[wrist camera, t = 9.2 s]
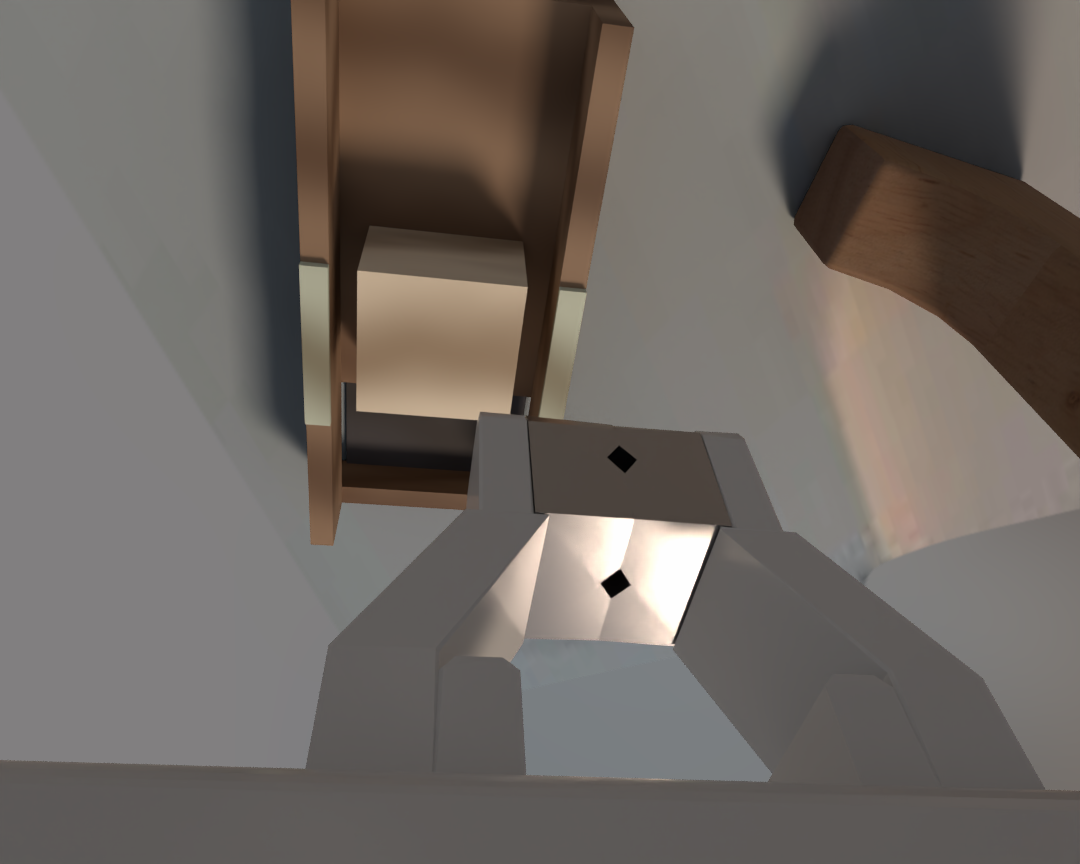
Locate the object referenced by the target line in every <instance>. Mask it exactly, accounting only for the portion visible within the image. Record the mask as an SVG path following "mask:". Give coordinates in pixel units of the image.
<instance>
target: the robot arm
mask: <svg viewBox="0 0 1080 864" xmlns="http://www.w3.org/2000/svg"><path fill="white" fill-rule="evenodd" d="M524 638H526V639H569V640H601V641H614V642H627V643H640V644H653V645H666V646H674V648H673V650H674V652H675V653H676V654H677V655H678V657H679V658H680V659H681V660H682V662H683V663H684V664H685V665H686V666H687V668H688V669H689V670H690V672H691V673H692V674H693V675H694V676H695V678H696V679H697V680H698V682H699V683H700V684H701V685H702V686H703V688H704V689H705V690H706V691H707V693H708V694H709V695H710V696H711V698H712V699H713V700H714V701H715V703H716V704H717V705H718V706H719V708H720V709H721V710H722V711H723V713H724V714H725V715H726V716H727V718H728V719H729V720H730V721H731V723H732V724H733V725H734V726H735V728H736V729H737V730H738V731H739V733H740V734H741V735H742V736H743V738H744V739H745V740H746V741H747V743H748V744H749V745H750V746H751V748H752V749H753V750H754V751H755V753H756V754H757V755H758V756H759V758H760V759H761V760H762V761H763V762H764V764H765V765H766V766H767V768H768V769H769V770H770V771H771V773H772V776H771V777H770V779H769V781H768V782H748V781H714V780H713V781H712V780H677V779H676V780H675V779H644V778H609V777H574V776H540V775H526V764H525V749H524V748H525V747H524V729H523V712H522V693H521V676H520V670H519V669H517V668H516V667H515V666H513V665H512V664H511V663H510V662H511V660H512V659H513V657H514V656H515V654H516V653H517V651H518V650H519V648H520V647H521V645H522V644H523V640H524ZM0 864H1080V791H1070V790H1067V791H1066V790H1045V788H1044V786H1043V784H1042V782H1041V781H1040V779H1039V777H1038V775H1037V774H1036V772H1035V770H1034V768H1033V767H1032V765H1031V763H1030V761H1029V759H1028V758H1027V756H1026V754H1025V752H1024V751H1023V749H1022V747H1021V745H1020V743H1019V742H1018V740H1017V739H1016V736H1015V735H1014V733H1013V731H1012V729H1011V728H1010V726H1009V724H1008V722H1007V720H1006V719H1005V717H1004V715H1003V713H1002V712H1001V710H1000V708H999V706H998V704H997V703H996V701H995V699H994V697H993V696H992V694H991V692H990V690H989V689H988V687H987V685H986V683H985V682H984V680H983V678H982V677H980V676H979V675H978V674H977V673H975V672H974V671H973V670H972V669H970V668H969V667H968V666H966V665H965V664H964V663H963V662H961V661H960V660H959V659H957V658H956V657H955V656H954V655H952V654H951V653H950V652H948V651H947V650H946V649H945V648H943V647H942V646H941V645H940V644H938V643H937V642H936V641H934V640H933V639H932V638H931V637H929V636H928V635H927V634H925V633H924V632H923V631H922V630H920V629H919V628H918V627H917V626H915V625H914V624H913V623H911V622H910V621H909V620H907V619H906V618H905V617H904V616H902V615H901V614H900V613H898V612H897V611H896V610H895V609H893V608H892V607H891V606H890V605H888V604H887V603H886V602H884V601H883V600H882V599H881V598H879V597H878V596H877V595H876V594H874V593H873V592H871V591H870V590H869V589H868V588H867V587H865V586H864V585H863V584H861V583H860V582H859V581H858V580H856V579H855V578H854V577H852V576H851V575H850V574H849V573H847V572H846V571H845V570H843V569H842V568H841V567H840V566H838V565H837V564H836V563H835V562H833V561H832V560H831V559H829V558H828V557H827V556H826V555H824V554H823V553H822V552H820V551H819V550H818V549H817V548H815V547H814V546H813V545H811V544H810V543H809V542H808V541H806V540H805V539H804V538H802V537H801V536H800V535H799V534H797V533H796V532H784V531H783V530H782V527H781V525H780V522H779V520H778V518H777V515H776V513H775V511H774V508H773V506H772V503H771V501H770V499H769V496H768V494H767V492H766V489H765V487H764V484H763V482H762V480H761V477H760V475H759V472H758V470H757V468H756V465H755V463H754V461H753V458H752V456H751V453H750V451H749V449H748V446H747V444H746V442H745V439H744V438H743V437H742V436H740V435H739V434H738V433H721V432H703V431H695V432H684V431H672V430H659V429H646V428H633V427H621V426H612V425H608V424H599V423H589V422H580V421H571V420H562V419H552V418H543V417H534V416H525V417H524V416H523V415H513V414H502V413H491V412H480V413H479V417H478V420H477V426H476V433H475V441H474V448H473V456H472V463H471V471H470V478H469V486H468V494H467V505H466V509H465V510H464V511H463V512H462V513H461V514H460V515H459V516H458V517H457V518H456V519H455V520H454V521H453V522H452V523H451V524H450V525H449V526H448V527H447V528H446V529H445V530H444V531H443V532H442V533H441V534H440V535H439V536H438V537H437V538H436V539H435V540H434V541H433V542H432V543H431V544H430V545H429V546H428V547H427V548H426V549H425V550H424V551H423V552H422V553H421V554H420V555H419V556H418V557H417V558H416V559H415V560H414V561H413V562H412V563H411V564H410V565H409V566H408V567H407V568H406V569H405V570H404V571H403V572H402V573H401V574H400V575H399V576H398V577H397V578H396V579H395V580H394V581H393V582H392V583H391V584H390V585H389V586H388V587H387V588H386V589H385V590H384V591H383V592H382V593H381V594H380V595H379V596H378V597H377V598H376V599H375V600H373V601H372V602H371V603H370V604H369V605H368V606H367V607H366V608H365V609H364V610H363V611H362V612H361V613H360V614H359V615H358V616H357V617H356V618H355V619H354V620H353V621H352V622H351V623H350V624H349V625H348V626H347V627H346V628H345V629H344V630H343V631H342V632H341V633H340V634H339V635H338V636H337V637H336V638H335V639H334V640H333V641H332V642H331V643H330V644H329V645H328V651H327V656H326V662H325V667H324V672H323V678H322V683H321V688H320V694H319V699H318V704H317V710H316V715H315V720H314V726H313V731H312V736H311V742H310V747H309V753H308V758H307V763H306V769H294V768H293V769H292V768H258V767H255V768H254V767H222V766H187V765H186V766H185V765H152V764H151V765H150V764H117V763H115V764H114V763H79V762H47V761H45V762H44V761H11V760H9V761H8V760H0Z"/></svg>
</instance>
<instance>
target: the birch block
mask: <svg viewBox="0 0 1080 864" xmlns="http://www.w3.org/2000/svg"><path fill="white" fill-rule="evenodd" d="M527 289H528V285H527V275H526V266H525V256H524V246H523V242H522V241H513V240H503V239H493V238H484V237H474V236H465V235H455V234H445V233H436V232H426V231H417V230H407V229H397V228H388V227H378V226H369V230H368V233H367V237H366V241H365V244H364V248H363V252H362V255H361V259H360V263H359V266H358V270H357V387H356V411H362V412H375V413H389V414H402V415H415V416H428V417H441V418H454V419H467V420H478V417H479V413H480V412H491V413H502V414H510V411H511V404H512V396H513V389H514V382H515V375H516V368H517V360H518V353H519V346H520V339H521V332H522V325H523V317H524V310H525V303H526V296H527Z"/></svg>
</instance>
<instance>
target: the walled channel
mask: <svg viewBox="0 0 1080 864" xmlns="http://www.w3.org/2000/svg"><path fill="white" fill-rule="evenodd" d="M291 19H292V46H293V74H294V101H295V128H296V155H297V183H298V210H299V237H300V264H299V281H300V307H301V333H302V360H303V386H304V413H305V424H306V428H307V456H308V483H309V510H310V538H311V544H313V545H331V546H333V544H334V539H335V534H336V529H337V524H338V519H339V514H340V509H341V504H342V502H345V503H361V504H377V505H393V506H409V507H425V508H441V509H458V510H465V509H466V505H467V494H468V486H469V478H470V471H471V463H472V456H473V448H474V441H475V433H476V426H477V420H467V419H454V418H441V417H428V416H415V415H402V414H389V413H375V412H362V411H356V387H357V270H358V266H359V263H360V259H361V255H362V252H363V248H364V244H365V241H366V237H367V233H368V230H369V226H378V227H388V228H397V229H407V230H417V231H426V232H436V233H445V234H455V235H465V236H474V237H484V238H493V239H503V240H513V241H522V242H523V246H524V256H525V266H526V275H527V285H528V289H527V296H526V303H525V310H524V317H523V325H522V332H521V339H520V346H519V353H518V360H517V368H516V375H515V382H514V389H513V396H512V404H511V411H510V414H513V415H524V408H525V401H526V397H531V402H530V409H529V415H528V416H534V417H543V418H552V419H562V420H563V418H564V412H565V407H566V402H567V396H568V391H569V385H570V380H571V375H572V369H573V364H574V358H575V353H576V348H577V342H578V337H579V332H580V326H581V321H582V315H583V310H584V305H585V299H586V294H587V292H586V286H587V280H588V275H589V269H590V264H591V259H592V253H593V248H594V242H595V237H596V231H597V226H598V221H599V215H600V210H601V204H602V199H603V194H604V188H605V183H606V177H607V172H608V166H609V161H610V156H611V150H612V145H613V139H614V134H615V128H616V123H617V118H618V112H619V107H620V101H621V96H622V91H623V85H624V80H625V74H626V69H627V63H628V58H629V53H630V47H631V42H632V36H633V31H634V27H633V26H632V24H631V23H630V22H629V20H628V19H627V18H626V16H625V15H624V13H623V12H622V11H621V9H620V8H619V7H618V5H617V4H616V3H615V1H614V0H291ZM341 382H346V387H347V461H343V460H342V440H341Z"/></svg>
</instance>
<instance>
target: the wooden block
mask: <svg viewBox="0 0 1080 864" xmlns="http://www.w3.org/2000/svg"><path fill="white" fill-rule="evenodd" d="M794 226H795V227H796V228H797V230H798V231H799V232H800V234H801V235H802V236H803V238H804V239H805V240H806V241H807V243H808V244H809V245H810V247H811V248H812V249H813V251H814V252H815V253H816V254H817V256H818V257H819V258H820V260H821V261H822V262H823V263H824V264H825V265H826V266H827V267H828V268H830V269H833V270H836V271H838V272H841V273H844V274H847V275H850V276H853V277H856V278H858V279H861V280H864V281H867V282H870V283H873V284H875V285H878V286H881V287H884V288H887V289H889V290H891V291H893V292H895V293H897V294H898V295H900V296H902V297H904V298H906V299H907V300H909V301H911V302H913V303H915V304H916V305H918V306H920V307H922V308H924V309H925V310H927V311H929V312H931V313H932V314H934V315H936V316H938V317H939V318H940V319H942V320H943V321H944V322H945V323H947V324H948V325H949V326H950V327H952V328H953V329H954V330H955V331H956V332H958V333H959V334H960V335H961V336H963V337H964V338H965V339H966V340H968V341H969V342H970V343H971V344H972V345H973V346H974V347H975V348H976V349H977V350H978V351H979V352H980V353H981V354H982V355H983V356H984V357H985V358H986V359H987V360H988V361H989V363H990V364H991V365H992V366H993V367H994V368H995V369H996V370H997V371H998V372H999V373H1000V374H1001V375H1002V376H1003V377H1004V378H1005V380H1006V381H1007V382H1008V383H1009V384H1010V385H1011V386H1012V387H1013V388H1014V389H1015V390H1016V391H1017V392H1018V393H1019V394H1020V396H1021V397H1022V398H1023V399H1024V400H1025V401H1026V402H1027V403H1028V404H1029V405H1030V406H1031V407H1032V408H1033V409H1034V410H1035V411H1036V413H1037V414H1038V415H1039V416H1040V417H1041V418H1042V419H1043V420H1044V421H1045V422H1046V423H1047V424H1048V425H1049V426H1050V427H1051V428H1052V430H1053V431H1054V432H1055V433H1056V434H1057V435H1058V436H1059V437H1060V438H1061V439H1062V440H1063V441H1064V442H1065V443H1066V444H1067V445H1068V447H1069V448H1070V449H1071V450H1072V451H1073V452H1074V453H1075V454H1076V455H1077V456H1078V457H1079V458H1080V218H1078V217H1077V216H1075V215H1074V214H1072V213H1071V212H1069V211H1068V210H1066V209H1065V208H1063V207H1062V206H1060V205H1059V204H1057V203H1056V202H1054V201H1053V200H1051V199H1050V198H1048V197H1046V196H1045V195H1043V194H1042V193H1040V192H1039V191H1037V190H1036V189H1034V188H1033V187H1031V186H1030V185H1028V184H1027V183H1025V182H1023V181H1020V180H1017V179H1014V178H1011V177H1008V176H1005V175H1002V174H999V173H996V172H993V171H990V170H987V169H984V168H981V167H978V166H975V165H972V164H969V163H966V162H963V161H960V160H957V159H954V158H951V157H948V156H945V155H942V154H939V153H936V152H933V151H930V150H927V149H924V148H921V147H918V146H915V145H912V144H909V143H906V142H903V141H900V140H897V139H894V138H891V137H888V136H885V135H882V134H879V133H876V132H873V131H870V130H867V129H864V128H861V127H858V126H855V125H846V126H842V127H841V129H840V130H839V131H838V133H837V135H836V137H835V139H834V141H833V143H832V145H831V147H830V149H829V150H828V152H827V154H826V156H825V158H824V160H823V162H822V164H821V166H820V168H819V170H818V172H817V174H816V176H815V178H814V180H813V182H812V184H811V186H810V188H809V190H808V192H807V194H806V196H805V198H804V200H803V202H802V204H801V206H800V208H799V210H798V212H797V214H796V216H795V220H794Z"/></svg>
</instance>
